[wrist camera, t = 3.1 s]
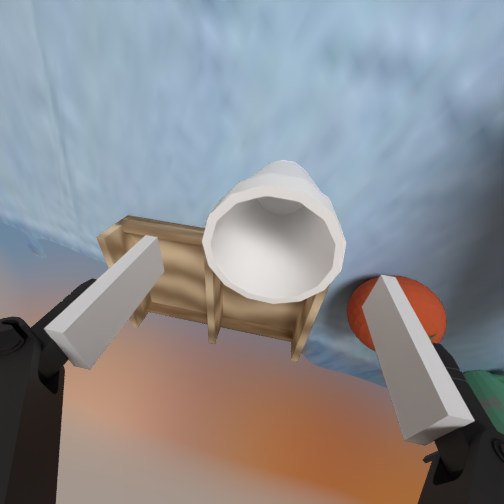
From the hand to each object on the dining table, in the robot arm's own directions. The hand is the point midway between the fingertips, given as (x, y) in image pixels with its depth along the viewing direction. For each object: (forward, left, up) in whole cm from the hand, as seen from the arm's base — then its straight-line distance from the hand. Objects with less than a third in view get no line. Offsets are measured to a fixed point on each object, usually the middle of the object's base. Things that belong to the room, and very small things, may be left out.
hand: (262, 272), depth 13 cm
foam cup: (0, 0, -15) cm, 15 cm away
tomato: (+12, +16, -15) cm, 25 cm away
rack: (+16, -7, -15) cm, 23 cm away
